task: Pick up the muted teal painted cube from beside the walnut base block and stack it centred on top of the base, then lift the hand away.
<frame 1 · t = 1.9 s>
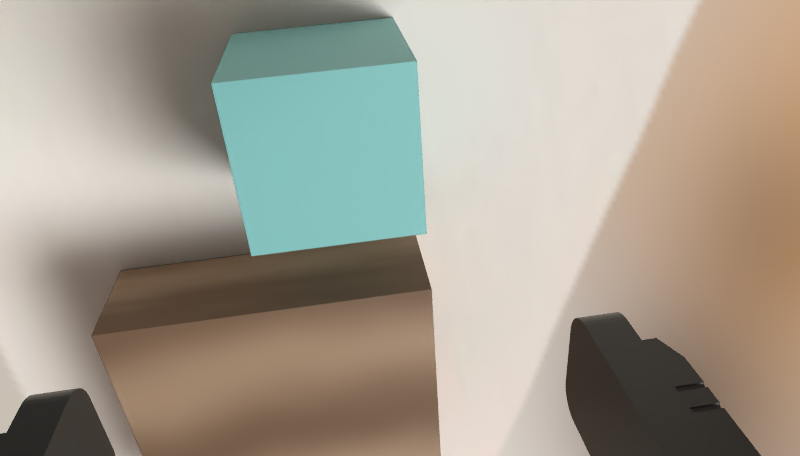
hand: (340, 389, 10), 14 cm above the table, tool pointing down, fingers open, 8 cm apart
teal cube: (323, 101, 23), on the table
walnut base: (293, 360, 29), on the table
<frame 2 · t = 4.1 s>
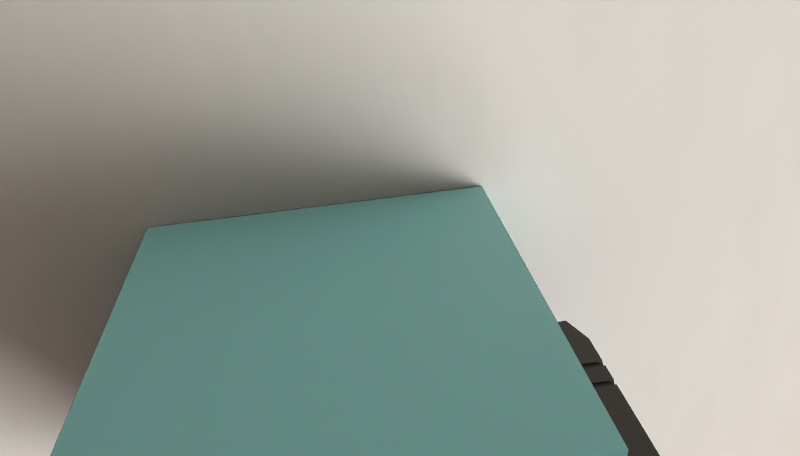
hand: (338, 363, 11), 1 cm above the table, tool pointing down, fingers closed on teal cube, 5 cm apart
teal cube: (338, 334, 12), on the table, touching gripper
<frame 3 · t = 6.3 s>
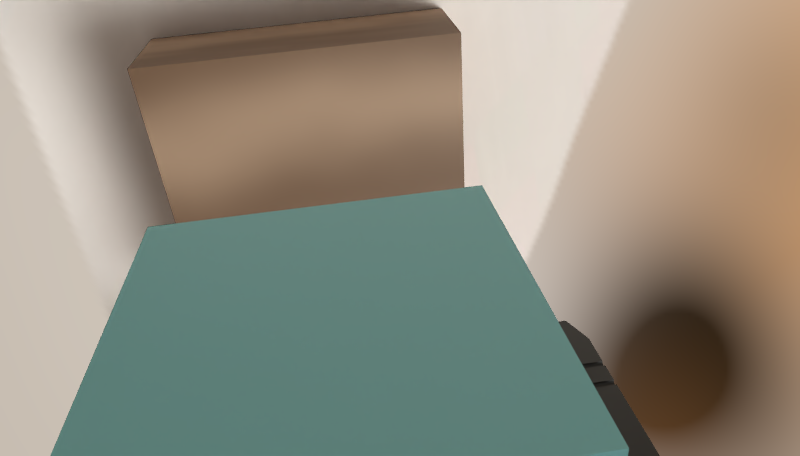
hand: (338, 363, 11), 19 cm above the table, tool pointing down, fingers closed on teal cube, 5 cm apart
teal cube: (338, 334, 12), point 18 cm above the table, touching gripper
walnut base: (319, 154, 29), on the table
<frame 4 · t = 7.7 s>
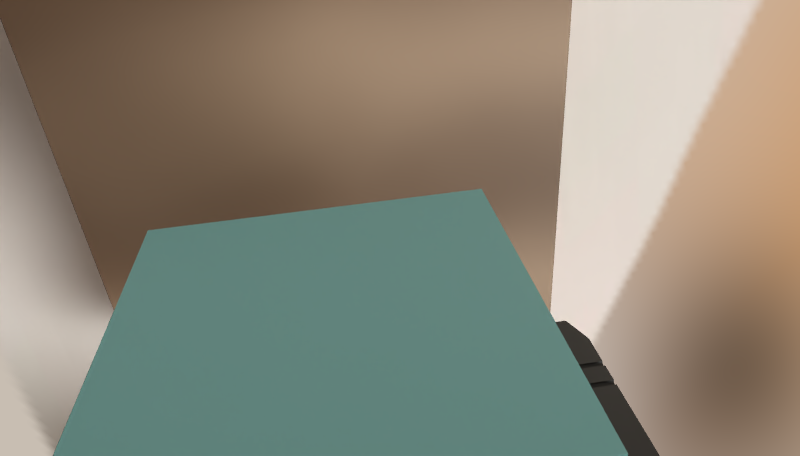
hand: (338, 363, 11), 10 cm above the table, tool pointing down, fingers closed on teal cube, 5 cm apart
teal cube: (338, 336, 12), point 9 cm above the table, touching gripper
walnut base: (325, 148, 19), on the table
when the fingers open (6 cm above the table, at t = 8.7 s): teal cube drops 1 cm, resting on walnut base.
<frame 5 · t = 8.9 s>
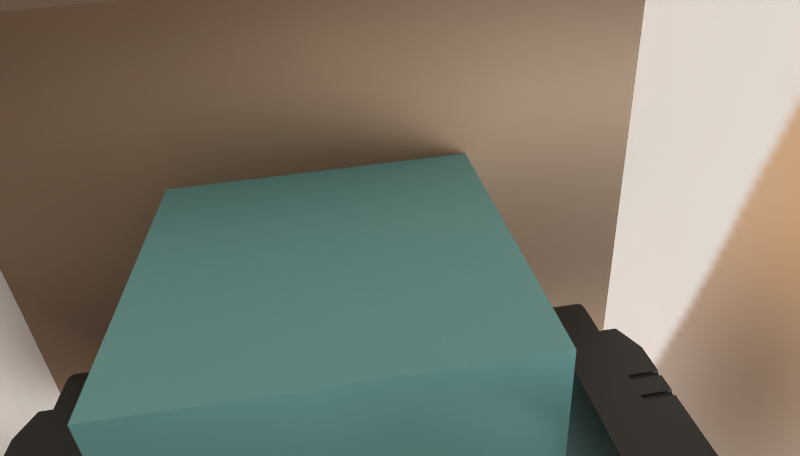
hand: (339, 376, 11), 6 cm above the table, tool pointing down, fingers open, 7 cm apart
teal cube: (336, 291, 13), point 4 cm above the table, touching walnut base
walnut base: (326, 201, 16), on the table
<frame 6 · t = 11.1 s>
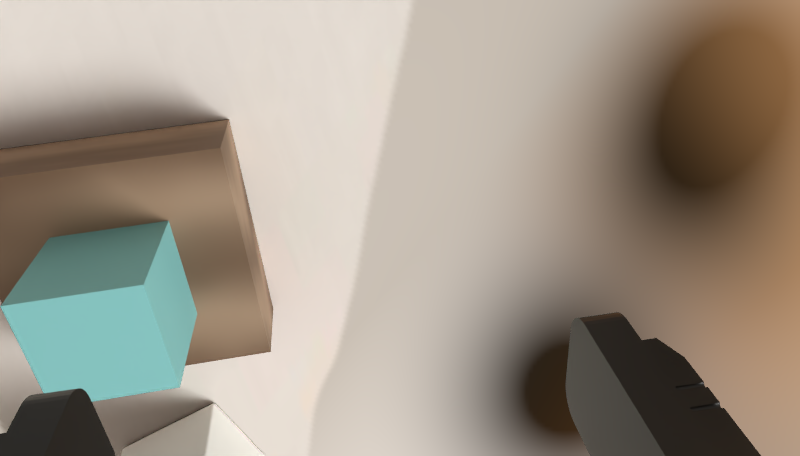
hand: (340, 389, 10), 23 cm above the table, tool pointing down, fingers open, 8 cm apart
teal cube: (127, 277, 31), point 4 cm above the table, touching walnut base
milk carton: (200, 452, 43), on the table
walnut base: (143, 238, 34), on the table
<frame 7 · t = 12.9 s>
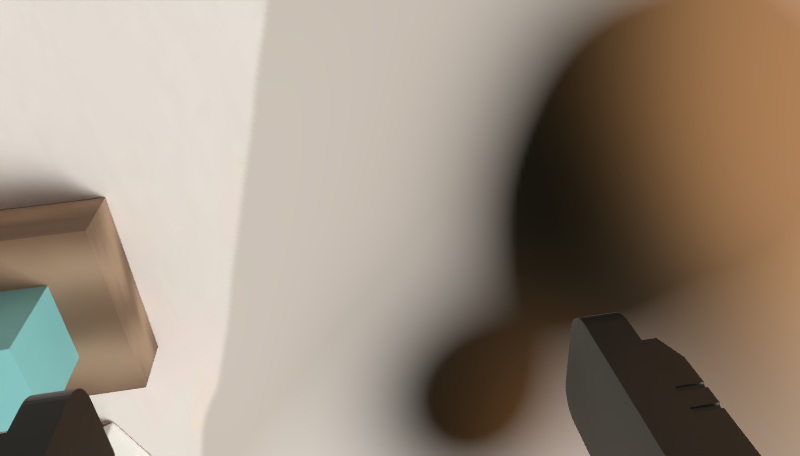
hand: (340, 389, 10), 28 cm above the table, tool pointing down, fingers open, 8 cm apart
teal cube: (16, 329, 37), point 4 cm above the table, touching walnut base
walnut base: (39, 290, 41), on the table
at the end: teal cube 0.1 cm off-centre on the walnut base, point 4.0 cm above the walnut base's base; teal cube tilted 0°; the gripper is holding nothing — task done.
